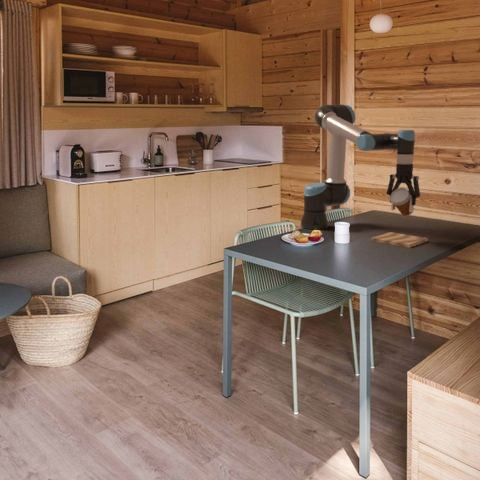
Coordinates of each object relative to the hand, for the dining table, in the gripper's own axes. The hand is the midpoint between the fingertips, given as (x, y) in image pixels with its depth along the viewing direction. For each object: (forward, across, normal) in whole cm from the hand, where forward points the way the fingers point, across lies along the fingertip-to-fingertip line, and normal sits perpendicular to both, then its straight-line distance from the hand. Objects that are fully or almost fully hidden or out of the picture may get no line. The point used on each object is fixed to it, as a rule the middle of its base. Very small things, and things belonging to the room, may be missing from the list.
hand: (402, 210), depth 264 cm
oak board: (+15, 0, +1) cm, 15 cm away
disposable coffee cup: (+1, 0, -5) cm, 5 cm away
